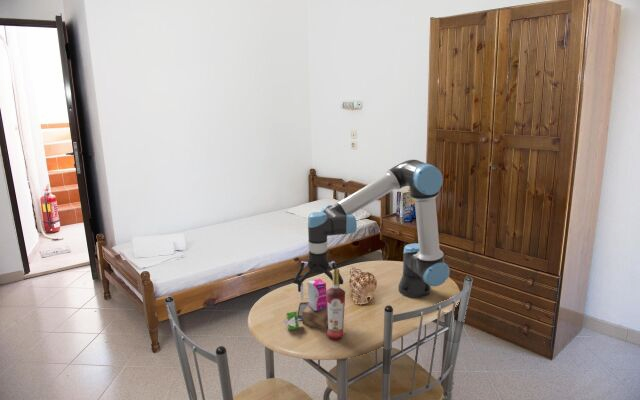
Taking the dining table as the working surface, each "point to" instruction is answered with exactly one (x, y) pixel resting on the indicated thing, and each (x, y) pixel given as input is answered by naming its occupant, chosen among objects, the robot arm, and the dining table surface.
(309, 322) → the walnut pedestal block
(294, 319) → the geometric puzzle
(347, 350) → the dining table surface
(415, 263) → the robot arm
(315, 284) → the supplement box
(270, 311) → the dining table surface
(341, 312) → the liquor
